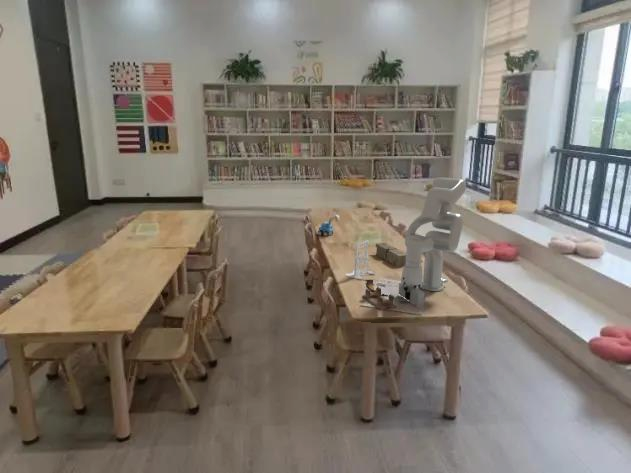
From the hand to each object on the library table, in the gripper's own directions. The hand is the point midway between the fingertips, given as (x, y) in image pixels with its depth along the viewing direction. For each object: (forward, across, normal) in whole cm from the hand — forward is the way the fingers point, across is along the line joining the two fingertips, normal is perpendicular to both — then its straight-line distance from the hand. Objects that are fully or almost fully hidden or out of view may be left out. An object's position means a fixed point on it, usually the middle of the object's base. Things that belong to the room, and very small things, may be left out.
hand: (410, 297), depth 233 cm
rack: (+2, +16, -4) cm, 17 cm away
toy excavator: (+2, -21, -132) cm, 133 cm away
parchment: (+2, +6, -22) cm, 22 cm away
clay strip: (+2, 0, 0) cm, 2 cm away
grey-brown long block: (+2, -31, -61) cm, 68 cm away
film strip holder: (+2, +4, -44) cm, 44 cm away
